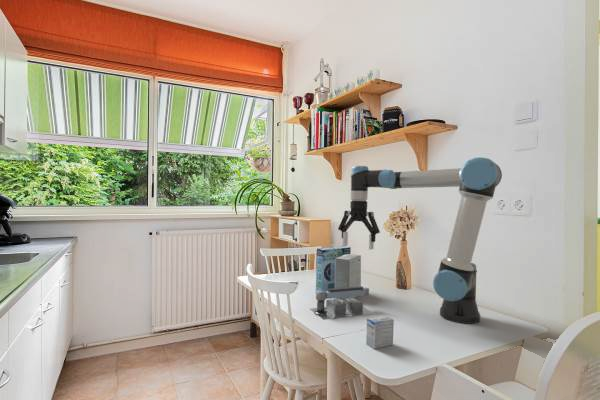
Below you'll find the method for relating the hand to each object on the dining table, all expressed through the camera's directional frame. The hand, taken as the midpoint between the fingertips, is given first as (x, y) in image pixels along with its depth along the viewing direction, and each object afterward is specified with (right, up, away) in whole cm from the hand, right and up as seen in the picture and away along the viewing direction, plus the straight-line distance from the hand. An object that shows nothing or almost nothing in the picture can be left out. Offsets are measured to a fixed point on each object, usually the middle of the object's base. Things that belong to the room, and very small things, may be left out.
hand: (357, 247), depth 158 cm
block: (-4, -25, -9) cm, 27 cm away
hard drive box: (-3, -26, +13) cm, 29 cm away
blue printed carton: (-9, -26, +21) cm, 35 cm away
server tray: (-8, -26, -11) cm, 29 cm away
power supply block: (-11, -25, -12) cm, 30 cm away
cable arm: (-8, -19, -11) cm, 24 cm away
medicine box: (0, -26, -43) cm, 50 cm away
